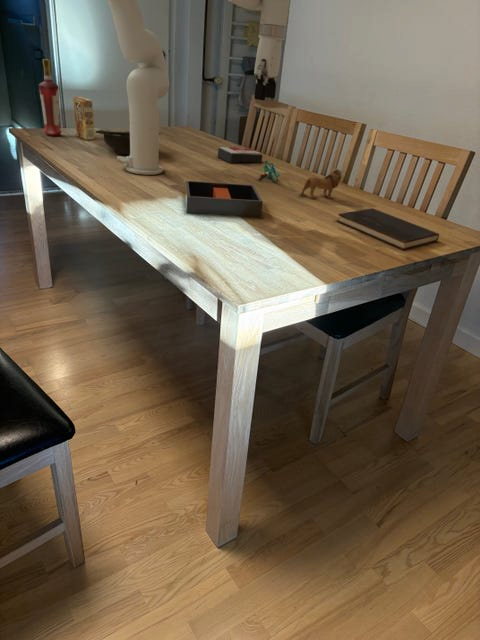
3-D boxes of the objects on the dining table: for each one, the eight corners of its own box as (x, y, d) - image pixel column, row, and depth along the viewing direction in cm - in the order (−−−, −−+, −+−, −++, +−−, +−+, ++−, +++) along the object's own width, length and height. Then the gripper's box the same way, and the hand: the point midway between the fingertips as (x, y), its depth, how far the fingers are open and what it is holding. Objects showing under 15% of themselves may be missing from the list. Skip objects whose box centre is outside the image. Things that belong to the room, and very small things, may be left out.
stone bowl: (130, 160, 173) (128, 133, 169) (82, 152, 185) (79, 127, 180) (173, 151, 192) (172, 127, 187) (127, 144, 203) (125, 121, 199)
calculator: (263, 153, 192) (231, 151, 185) (261, 164, 194) (230, 163, 187) (249, 147, 200) (218, 145, 192) (247, 157, 202) (217, 156, 194)
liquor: (46, 132, 202) (38, 58, 188) (64, 134, 203) (58, 60, 189) (41, 135, 195) (33, 59, 181) (60, 137, 197) (53, 61, 182)
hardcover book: (402, 250, 121) (405, 241, 120) (336, 221, 136) (338, 213, 135) (437, 241, 130) (440, 233, 129) (371, 215, 145) (373, 207, 144)
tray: (186, 214, 128) (187, 196, 126) (184, 196, 142) (185, 180, 140) (260, 218, 132) (262, 201, 129) (252, 200, 146) (253, 185, 143)
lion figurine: (331, 193, 162) (337, 167, 158) (340, 198, 158) (346, 171, 154) (295, 195, 156) (300, 167, 152) (304, 200, 152) (309, 171, 148)
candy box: (95, 139, 200) (93, 100, 192) (85, 140, 197) (83, 100, 190) (84, 135, 205) (82, 96, 197) (75, 135, 202) (72, 96, 195)
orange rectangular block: (215, 212, 131) (216, 199, 130) (212, 199, 142) (213, 187, 140) (230, 213, 132) (231, 200, 130) (226, 200, 142) (227, 188, 140)
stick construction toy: (284, 177, 166) (272, 158, 163) (268, 189, 165) (256, 169, 163) (273, 178, 177) (262, 160, 174) (258, 189, 176) (247, 171, 174)
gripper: (268, 33, 143) (261, 95, 152) (249, 29, 129) (243, 98, 137) (292, 36, 141) (284, 98, 150) (276, 32, 127) (267, 102, 136)
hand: (264, 98), depth 144 cm, fingers open, 9 cm apart
